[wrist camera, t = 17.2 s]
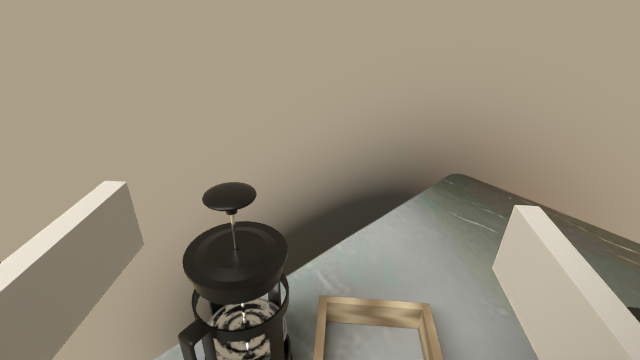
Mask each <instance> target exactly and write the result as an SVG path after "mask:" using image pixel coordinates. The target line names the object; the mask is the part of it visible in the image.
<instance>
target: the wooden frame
mask: <svg viewBox="0 0 640 360" xmlns="http://www.w3.org/2000/svg"><path fill="white" fill-rule="evenodd" d="M326 322H339V323H351V324H364V325H377V326H389V327H402V328H414V329H418V332H419V337H420V342H421V347H422V352H423V357H424V360H443V356H442V352H441V348H440V344H439V340H438V336H437V332H436V328H435V324H434V320H433V316H432V312H431V308H430V304H427V303H414V302H401V301H387V300H374V299H361V298H347V297H334V296H321V295H319V305H318V316H317V326H316V336H315V346H314V356H313V360H323V358H324V343H325V329H326Z"/></svg>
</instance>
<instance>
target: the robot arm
mask: <svg viewBox="0 0 640 360" xmlns="http://www.w3.org/2000/svg"><path fill="white" fill-rule="evenodd" d="M143 245H144V242H143V238H142V235H141V231H140V228H139V224H138V221H137V218H136V214H135V211H134V207H133V204H132V200H131V197H130V193H129V190H128V186H127V183H126V182H117V181H104V182H103V183H102V184H100V185H99V186H98V187H97V188H95V189H94V190H93V191H92V192H90V193H89V194H88V195H87V196H85V197H84V198H83V199H81V200H80V201H79V202H78V203H76V204H75V205H74V206H73V207H71V208H70V209H69V210H67V211H66V212H65V213H64V214H62V215H61V216H60V217H59V218H57V219H56V220H55V221H53V222H52V223H51V224H50V225H48V226H47V227H46V228H45V229H43V230H42V231H41V232H40V233H38V234H37V235H36V236H34V237H33V238H32V239H31V240H29V241H28V242H27V243H26V244H24V245H23V246H22V247H20V248H19V249H18V250H17V251H15V252H14V253H13V254H12V255H10V256H9V257H8V258H7V259H5V260H4V261H3V262H0V360H52V359H53V357H54V356H55V355H56V353H57V352H58V351H59V350H60V349H61V347H62V346H63V345H64V344H65V342H66V341H67V340H68V338H69V337H70V336H71V335H72V334H73V332H74V331H75V330H76V329H77V327H78V326H79V325H80V323H81V322H82V321H83V320H84V319H85V317H86V316H87V315H88V314H89V312H90V311H91V310H92V309H93V307H94V306H95V305H96V304H97V302H98V301H99V300H100V299H101V297H102V296H103V295H104V294H105V292H106V291H107V290H108V288H109V287H110V286H111V285H112V283H113V282H114V281H115V280H116V279H117V277H118V276H119V275H120V274H121V272H122V271H123V270H124V269H125V267H126V266H127V265H128V264H129V262H130V261H131V260H132V259H133V257H134V256H135V255H136V254H137V252H138V251H139V250H140V249H141V247H142V246H143ZM492 269H493V271H494V273H495V275H496V277H497V279H498V281H499V282H500V284H501V286H502V288H503V290H504V292H505V294H506V296H507V298H508V300H509V302H510V304H511V306H512V308H513V310H514V312H515V314H516V316H517V318H518V320H519V322H520V324H521V326H522V328H523V330H524V332H525V334H526V336H527V338H528V339H529V341H530V343H531V345H532V347H533V349H534V351H535V353H536V355H537V357H538V359H539V360H640V309H639V308H632V307H626V306H625V305H624V304H623V303H622V302H621V301H620V300H619V298H618V297H617V296H616V295H615V294H614V293H613V291H612V290H611V289H610V288H609V287H608V286H607V285H606V283H605V282H604V281H603V280H602V279H601V278H600V276H599V275H598V274H597V273H596V272H595V271H594V270H593V268H592V267H591V266H590V265H589V264H588V263H587V261H586V260H585V259H584V258H583V257H582V256H581V255H580V253H579V252H578V251H577V250H576V249H575V248H574V246H573V245H572V244H571V243H570V242H569V241H568V240H567V238H566V237H565V236H564V235H563V234H562V233H561V231H560V230H559V229H558V228H557V227H556V226H555V224H554V223H553V222H552V221H551V220H550V219H549V218H548V216H547V215H546V214H545V213H544V212H543V211H542V209H541V208H540V207H539V206H522V205H515V206H514V209H513V211H512V214H511V217H510V220H509V223H508V225H507V228H506V231H505V234H504V237H503V239H502V242H501V245H500V248H499V251H498V253H497V256H496V259H495V262H494V265H493V267H492Z"/></svg>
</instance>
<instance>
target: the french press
mask: <svg viewBox="0 0 640 360" xmlns="http://www.w3.org/2000/svg"><path fill="white" fill-rule="evenodd" d="M255 198H256V191H255V189H254V188H253V187H252V186H250V185H247V184H245V183H239V182H229V183H223V184H219V185H216V186H214V187H212V188H210V189H209V190H207V191H206V192H205V194H204V195H203V198H202V201H203V203H204V205H205V206H207V207H208V208H210V209H213V210H217V211H226V213H227V214H228V215H230V220H231V223H227V224H222V225H219V226H216V227H214V228H211V229H209V230H207V231H206V232H204V233H202V234H201V235H199V236H198V237H197V238H196V239H194V240H193V241H192V242H191V243H190V245H189V246H188V247H187V249H186V251H185V253H184V256H183V268H184V272H185V274H186V276H187V278H188V279H189V280H190V281H191V282H192V283H193V286H194V288H195V289H194V293H193V295H192V308H193V312H194V317H195V321H194V322H193V323H192V324H190V325H189V326H188V327H187V328H185V329H184V330H183V331H182V332H180V333H179V335H178V338H179V343H180V346H181V350H182V354H183V357H184V360H197V358H196V354H195V350H194V346H195V344H196V343H197V342H198V341H200V340H201V339H202V344H203V348H204V353H205V360H293V359H292V354H291V351H290V340H289V336H288V334H287V322H286V318H285V316H284V314H285V312H286V311H287V307H288V304H289V286H288V282H287V279H286V277H285V275H284V273H283V265H284V264H285V261H286V259H287V250H288V247H287V243H286V241H285V239H284V237H283V236H282V235H281V234H280V233H279V232H278V231H277V230H275V229H274V228H272V227H270V226H268V225H265V224H261V223H257V222H249V221H244V222H235V216H234V214H236V213H237V210H238V209H241V208H244V207H246V206H248V205H249V204H251V203H252V202H253V201H254V200H255ZM280 281H281V283H282V284H283V286H284V287H285V289H286V297H285V300H284V302H283V304H282V305H281V293H280ZM266 293H268V298H269V301H267V300H264V299H260V297H262V296H264V295H265V294H266ZM200 296H201V297H203V298H205V299H207V300H208V301H209V304H210V309H211V314H212V318H211V319H210V320H209V322H208V324H207V323H206V322H204V321H203V320H202V319H201V318H200V317H199V316H198V314H197V312H196V305H197V302H198V299H199V297H200Z"/></svg>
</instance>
